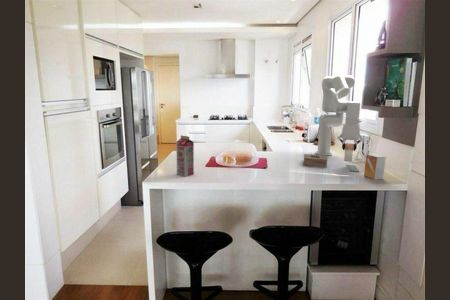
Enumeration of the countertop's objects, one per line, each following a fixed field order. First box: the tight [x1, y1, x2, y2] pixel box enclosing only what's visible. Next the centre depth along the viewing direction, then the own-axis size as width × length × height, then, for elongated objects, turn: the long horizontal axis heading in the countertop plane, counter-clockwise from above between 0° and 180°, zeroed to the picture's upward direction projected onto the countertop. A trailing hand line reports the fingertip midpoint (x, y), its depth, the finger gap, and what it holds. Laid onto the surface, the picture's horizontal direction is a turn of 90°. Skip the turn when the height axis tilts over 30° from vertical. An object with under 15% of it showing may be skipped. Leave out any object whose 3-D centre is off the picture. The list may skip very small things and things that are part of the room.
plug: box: [343, 142, 354, 163], centre depth 181 cm, size 6×6×11 cm
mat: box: [346, 164, 360, 173], centre depth 184 cm, size 16×12×1 cm
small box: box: [363, 153, 387, 180], centre depth 163 cm, size 8×6×13 cm
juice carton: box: [175, 135, 195, 178], centre depth 159 cm, size 7×7×22 cm
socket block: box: [303, 153, 328, 169], centre depth 188 cm, size 14×14×6 cm
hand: (348, 150), depth 181 cm, fingers closed on plug, 5 cm apart
